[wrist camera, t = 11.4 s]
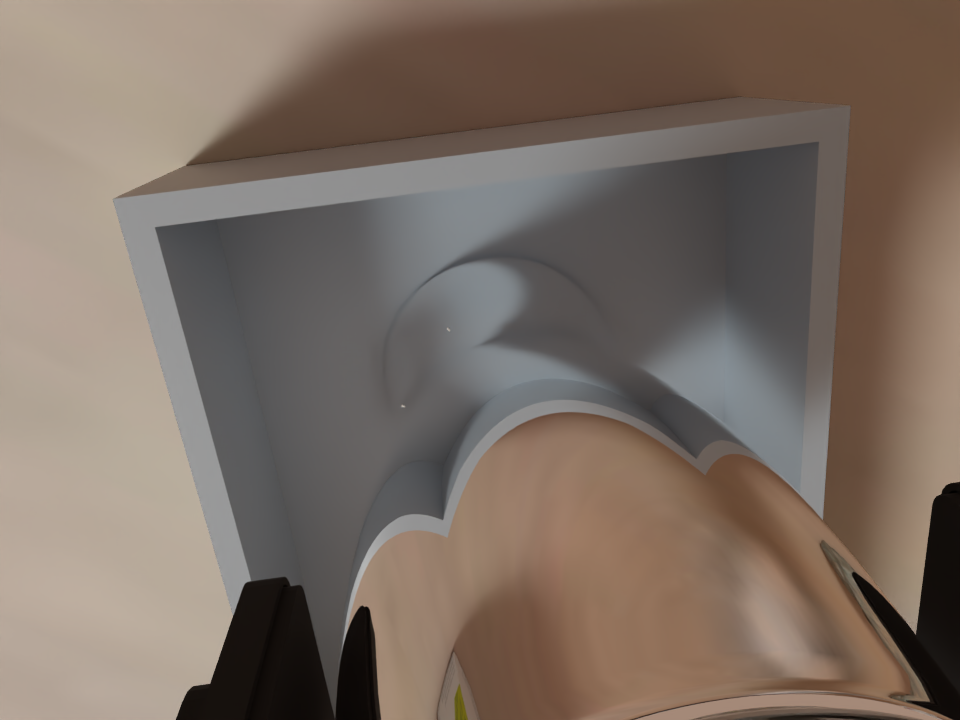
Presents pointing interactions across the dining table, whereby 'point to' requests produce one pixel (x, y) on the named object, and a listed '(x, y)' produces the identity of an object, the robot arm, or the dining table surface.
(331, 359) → the tote
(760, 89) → the dining table surface
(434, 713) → the beer glass
